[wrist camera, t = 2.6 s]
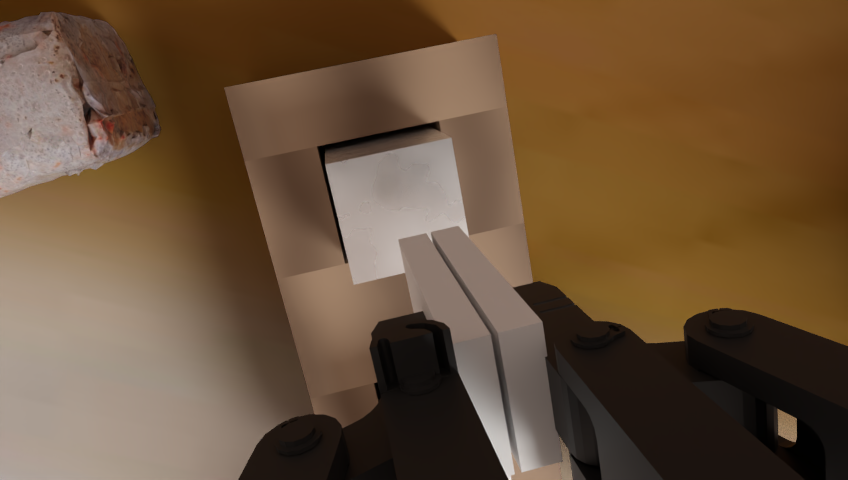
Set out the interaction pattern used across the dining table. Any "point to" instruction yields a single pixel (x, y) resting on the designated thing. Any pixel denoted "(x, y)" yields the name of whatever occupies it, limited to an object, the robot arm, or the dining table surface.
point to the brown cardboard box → (315, 210)
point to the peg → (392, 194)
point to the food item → (67, 99)
